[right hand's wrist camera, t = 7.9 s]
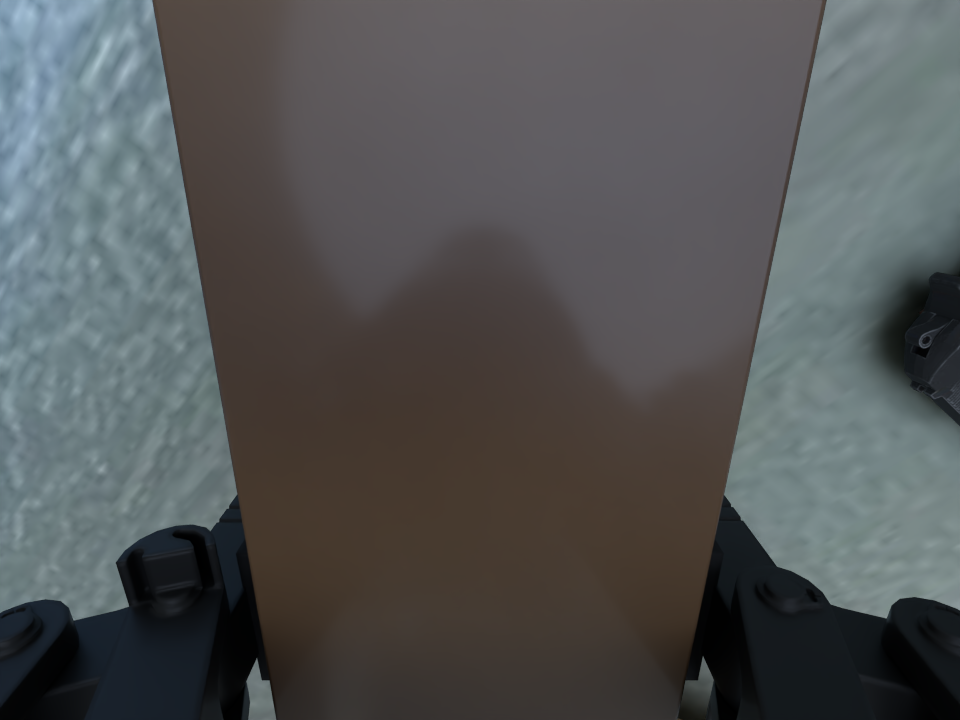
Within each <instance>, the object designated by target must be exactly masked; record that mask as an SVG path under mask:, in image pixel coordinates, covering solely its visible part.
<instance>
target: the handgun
mask: <svg viewBox="0 0 960 720" xmlns="http://www.w3.org/2000/svg"><path fill="white" fill-rule="evenodd" d="M929 282H930V293H929V296H928V299H927V302H926V305H925V308H924V309H923V310H921V311H920V312H919V314H920V315H919V317H918V318H917V319H916V320H915V321H914V323H913V324H912V325H911V326H910V328H909V329H908V330H907V332H906V334H905V340H906V346H905V356H904V365H905V373H906V374H907V375H908V376H909V377H910V378H911V379H912V382H911V387H912V388H913V389H914V390H916V391H918V392H920V393H921V392H922V391H924V393H925V394H926V395H927V396H929V397H930V398H931V399H932V400H934V401H935V402H936V403H937V404H938V405H939V406H940V407H941V408H942V409H943V410H944V411H945V412H946V413H947V414H948V415H949V416H950V417H951V418H952V419H953V420H954V421H955V422H956V423H957V424H958V425H959V426H960V277H957V276H952V275H948V274H943V273H939V272H936V273H934V274H933V275H932V276H931V277H930V278H929Z"/></svg>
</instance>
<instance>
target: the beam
mask: <svg viewBox="0 0 960 720" xmlns="http://www.w3.org/2000/svg"><path fill="white" fill-rule="evenodd" d="M152 1H153V7H154V12H155V18H156V24H157V30H158V36H159V41H160V47H161V53H162V59H163V65H164V70H165V76H166V82H167V88H168V94H169V99H170V105H171V111H172V117H173V123H174V128H175V134H176V140H177V146H178V152H179V157H180V163H181V169H182V175H183V181H184V186H185V192H186V198H187V204H188V210H189V215H190V221H191V227H192V233H193V239H194V244H195V250H196V256H197V262H198V268H199V273H200V279H201V285H202V291H203V297H204V302H205V308H206V314H207V320H208V326H209V331H210V337H211V343H212V349H213V355H214V360H215V366H216V372H217V378H218V384H219V389H220V395H221V401H222V407H223V413H224V418H225V424H226V430H227V436H228V442H229V447H230V453H231V459H232V465H233V471H234V476H235V482H236V488H237V494H238V500H239V505H240V511H241V517H242V523H243V529H244V534H245V540H246V546H247V552H248V558H249V563H250V569H251V575H252V581H253V587H254V592H255V598H256V604H257V610H258V616H259V621H260V627H261V633H262V639H263V645H264V650H265V656H266V662H267V668H268V674H269V679H270V685H271V691H272V697H273V703H274V708H275V714H276V720H677V718H678V713H679V708H680V704H681V699H682V694H683V689H684V684H685V680H686V675H687V670H688V665H689V660H690V655H691V651H692V646H693V641H694V636H695V631H696V627H697V622H698V617H699V612H700V607H701V603H702V598H703V593H704V588H705V583H706V578H707V574H708V569H709V564H710V559H711V554H712V550H713V545H714V540H715V535H716V530H717V525H718V521H719V516H720V511H721V506H722V501H723V497H724V492H725V487H726V482H727V477H728V472H729V468H730V463H731V458H732V453H733V448H734V444H735V439H736V434H737V429H738V424H739V419H740V415H741V410H742V405H743V400H744V395H745V391H746V386H747V381H748V376H749V371H750V367H751V362H752V357H753V352H754V347H755V342H756V338H757V333H758V328H759V323H760V318H761V314H762V309H763V304H764V299H765V294H766V289H767V285H768V280H769V275H770V270H771V265H772V261H773V256H774V251H775V246H776V241H777V236H778V232H779V227H780V222H781V217H782V212H783V208H784V203H785V198H786V193H787V188H788V184H789V179H790V174H791V169H792V164H793V159H794V155H795V150H796V145H797V140H798V135H799V131H800V126H801V121H802V116H803V111H804V106H805V102H806V97H807V92H808V87H809V82H810V78H811V73H812V68H813V63H814V58H815V53H816V49H817V44H818V39H819V34H820V29H821V25H822V20H823V15H824V10H825V5H826V0H152Z"/></svg>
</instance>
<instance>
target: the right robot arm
mask: <svg viewBox="0 0 960 720" xmlns="http://www.w3.org/2000/svg"><path fill="white" fill-rule="evenodd" d="M740 518H741V517H740V516H739V515H738V513H737V512H736V510H735V509H734V508H733V507H731V504H730V502H729V501H728V500H727V498H726V497H725V496H724V497H723V501H722V506H721V511H720V516H719V521H718V525H717V530H716V535H715V540H714V545H713V550H712V554H711V559H710V564H709V569H708V574H707V578H706V583H705V588H704V593H703V598H702V603H701V607H700V612H699V617H698V622H697V627H696V631H695V636H694V641H693V646H692V651H691V655H690V660H689V665H688V670H687V675H686V680H698V677H699V672H700V667H701V662H702V657H704V659H705V661H706V663H707V665H708V668H709V670H710V672H711V674H712V676H713V679H714V683H713V687H712V692H711V696H710V701H709V705H708V710H707V714H706V719H705V720H960V610H958V609H956V608H953V607H950V606H948V605H945V604H942V603H940V602H937V601H934V600H928V599H922V598H917V597H912V598H903V599H899V600H898V601H897V602H895V603H894V604H893V605H892V606H891V609H890V611H889V614H888V617H887V619H886V618H882V617H877V616H873V615H869V614H865V613H860V612H856V611H852V610H848V609H843V608H840V607H837V606H833V605H830V603H829V602H828V600H827V599H826V597H825V596H824V594H823V592H821V591H820V590H819V589H818V588H817V587H816V586H814V585H813V584H812V583H811V582H810V581H809V580H807V579H805V578H803V577H801V576H799V575H797V574H796V573H794V572H792V571H789V570H786V569H782V568H779V567H777V566H776V565H775V563H774V562H773V561H772V559H771V558H770V557H769V555H768V554H767V553H766V551H765V550H764V548H763V547H762V546H761V544H760V543H759V542H758V540H757V539H756V538H755V536H754V535H753V534H752V532H751V531H750V529H749V528H748V527H747V525H746V524H745V523H744V521H741V519H740ZM116 565H117V568H118V571H119V574H120V577H121V581H122V584H123V587H124V590H125V594H126V597H127V600H128V603H129V607H127V608H124V609H121V610H117V611H113V612H109V613H105V614H101V615H96V616H92V617H88V618H84V619H80V620H75V621H73V618H72V615H71V613H70V610H69V608H68V607H67V606H66V605H65V604H63V603H62V602H61V601H55V600H46V599H45V600H40V601H34V602H28V603H24V604H22V605H19V606H16V607H14V608H11V609H8V610H6V611H3V612H2V613H0V720H248V716H249V706H250V700H249V692H248V687H247V683H246V681H247V678H248V676H249V674H250V672H251V670H252V667H253V665H254V663H255V661H256V659H258V664H259V669H260V673H261V678H262V680H270V679H269V674H268V668H267V662H266V656H265V650H264V645H263V639H262V633H261V627H260V621H259V616H258V610H257V604H256V598H255V592H254V587H253V581H252V575H251V569H250V563H249V558H248V552H247V546H246V540H245V534H244V529H243V523H242V517H241V511H240V505H239V500H238V495H237V496H236V497H235V499H234V500H233V501H232V503H231V504H230V506H229V509H227V510H226V511H225V512H224V514H223V515H222V516H221V518H220V521H219V523H216V525H215V526H214V527H213V529H212V530H211V531H209V530H208V529H207V528H206V527H201V526H197V525H181V526H174V527H170V528H166V529H163V530H159V531H156V532H154V533H152V534H150V535H148V536H146V537H144V538H142V539H140V540H138V541H137V542H136V543H134V544H133V545H132V546H130V547H129V548H128V549H126V550H125V551H124V553H123V554H122V555H121V557H120V558H119V559H118V560H117V562H116Z"/></svg>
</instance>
